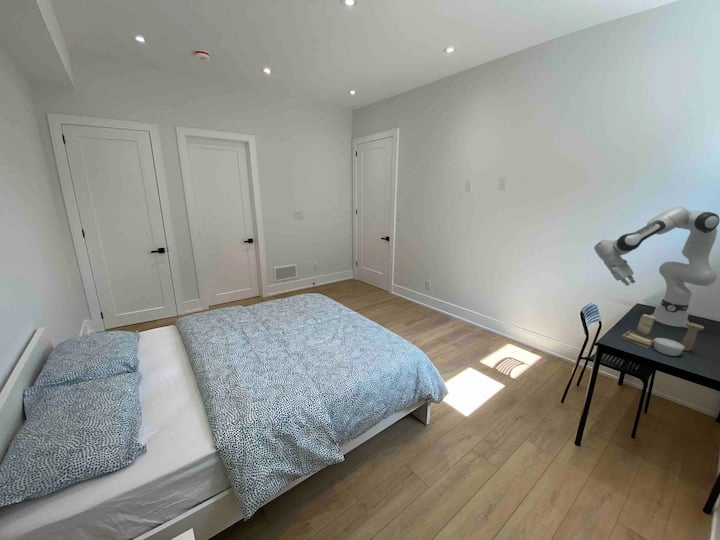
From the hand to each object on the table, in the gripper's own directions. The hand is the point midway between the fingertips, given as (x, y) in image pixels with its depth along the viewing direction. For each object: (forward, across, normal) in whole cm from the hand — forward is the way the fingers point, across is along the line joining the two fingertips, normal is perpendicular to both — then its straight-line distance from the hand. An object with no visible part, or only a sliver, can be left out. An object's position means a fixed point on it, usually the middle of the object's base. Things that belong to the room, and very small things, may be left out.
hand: (631, 284), depth 176 cm
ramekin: (+38, -14, +2) cm, 40 cm away
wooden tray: (+29, -13, +10) cm, 33 cm away
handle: (+41, -3, -2) cm, 41 cm away
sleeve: (+28, -2, +11) cm, 30 cm away
